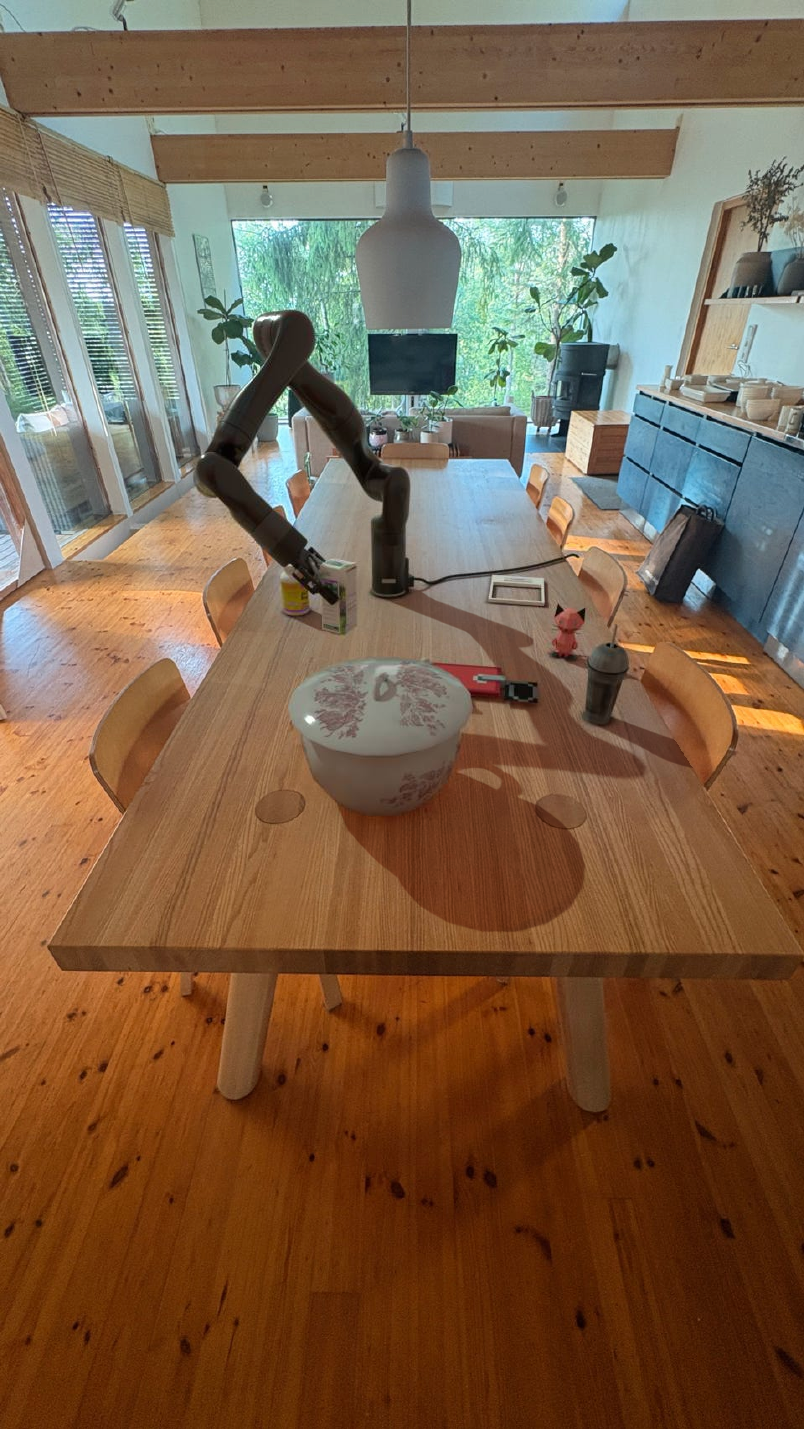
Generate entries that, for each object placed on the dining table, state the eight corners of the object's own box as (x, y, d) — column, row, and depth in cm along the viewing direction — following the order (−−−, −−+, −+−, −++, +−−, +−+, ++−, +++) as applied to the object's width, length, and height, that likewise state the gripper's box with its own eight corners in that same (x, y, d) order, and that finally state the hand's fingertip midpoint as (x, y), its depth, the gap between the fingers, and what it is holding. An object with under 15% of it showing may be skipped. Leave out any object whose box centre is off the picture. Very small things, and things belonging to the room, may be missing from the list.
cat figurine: (545, 658, 139) (552, 608, 132) (550, 645, 144) (557, 597, 138) (577, 664, 137) (586, 613, 130) (581, 650, 142) (590, 601, 136)
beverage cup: (617, 711, 121) (639, 616, 110) (615, 731, 115) (638, 633, 104) (579, 705, 123) (596, 611, 112) (575, 724, 117) (593, 627, 106)
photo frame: (543, 577, 178) (544, 602, 163) (543, 581, 178) (544, 606, 163) (492, 574, 180) (488, 598, 165) (492, 577, 180) (488, 602, 165)
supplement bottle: (304, 617, 157) (300, 568, 150) (280, 615, 158) (274, 566, 151) (313, 607, 163) (309, 559, 156) (289, 605, 164) (284, 557, 157)
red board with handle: (537, 712, 120) (536, 675, 132) (538, 699, 118) (538, 663, 131) (384, 699, 124) (398, 665, 137) (384, 687, 123) (398, 654, 135)
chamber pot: (328, 868, 87) (317, 749, 75) (279, 759, 108) (265, 652, 96) (501, 814, 96) (514, 700, 85) (425, 723, 117) (428, 622, 106)
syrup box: (321, 630, 134) (318, 564, 126) (336, 620, 138) (333, 556, 130) (344, 636, 131) (342, 569, 124) (358, 626, 136) (357, 561, 128)
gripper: (283, 535, 118) (346, 596, 123) (297, 515, 130) (354, 572, 136) (258, 562, 120) (321, 620, 126) (274, 540, 133) (331, 594, 139)
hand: (338, 595), depth 131 cm, fingers closed on syrup box, 7 cm apart
